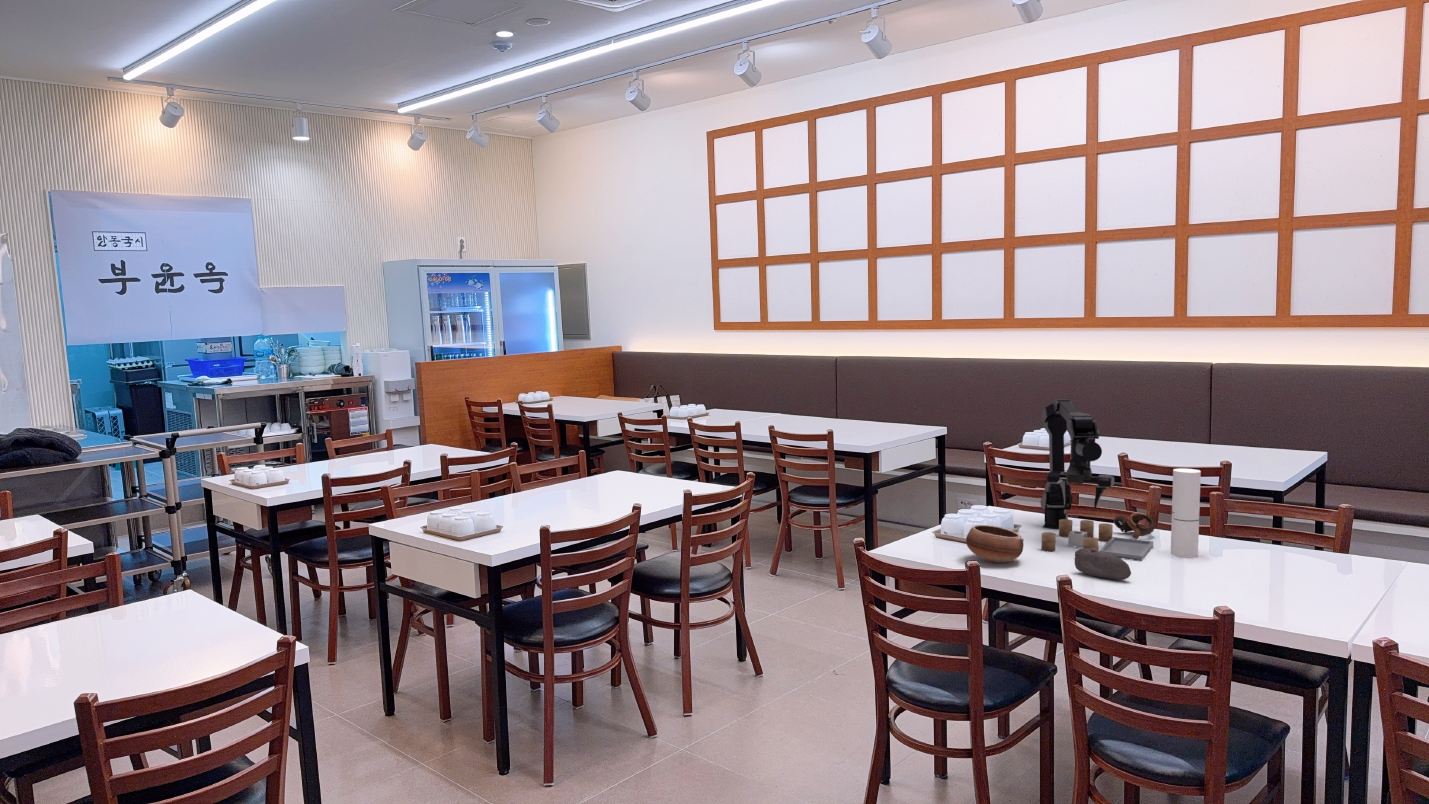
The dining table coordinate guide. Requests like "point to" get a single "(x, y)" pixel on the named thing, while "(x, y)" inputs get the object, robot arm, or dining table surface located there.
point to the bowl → (994, 543)
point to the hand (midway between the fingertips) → (1079, 506)
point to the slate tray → (1127, 548)
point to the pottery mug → (1134, 524)
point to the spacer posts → (1085, 526)
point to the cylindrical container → (1185, 512)
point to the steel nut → (1076, 538)
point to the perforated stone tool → (1101, 564)
